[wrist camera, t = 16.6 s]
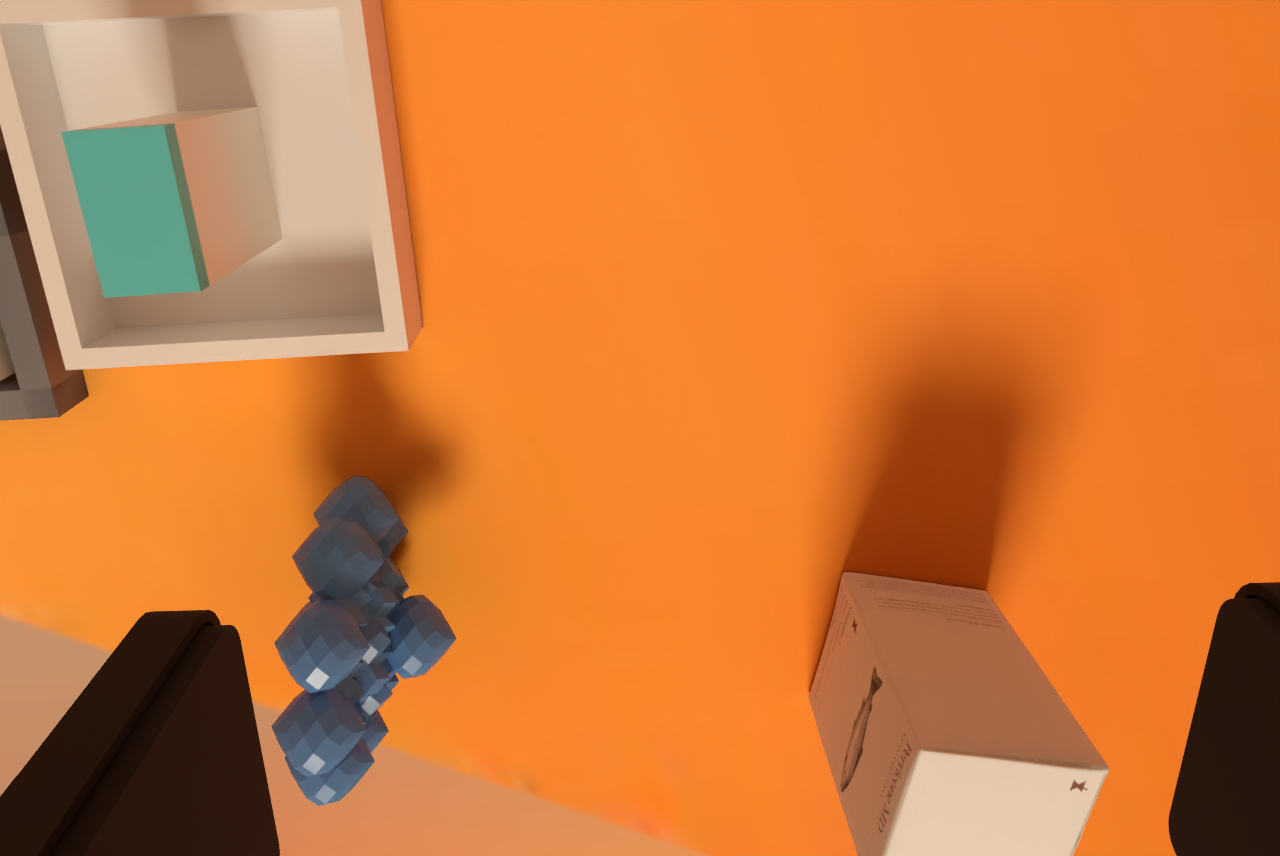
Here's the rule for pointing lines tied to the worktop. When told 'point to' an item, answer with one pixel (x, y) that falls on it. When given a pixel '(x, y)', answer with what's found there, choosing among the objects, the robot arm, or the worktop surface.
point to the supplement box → (946, 727)
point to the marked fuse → (173, 198)
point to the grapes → (351, 640)
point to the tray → (296, 153)
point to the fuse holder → (28, 320)
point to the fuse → (5, 357)
